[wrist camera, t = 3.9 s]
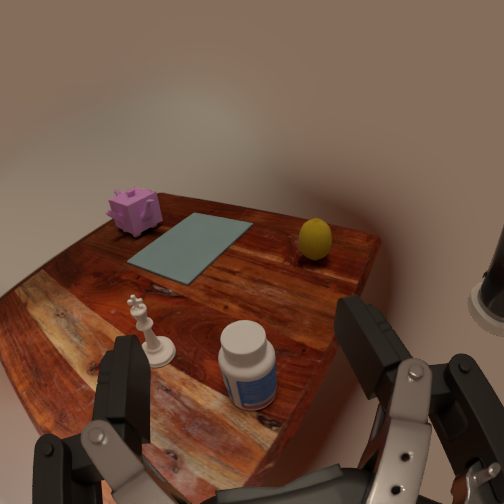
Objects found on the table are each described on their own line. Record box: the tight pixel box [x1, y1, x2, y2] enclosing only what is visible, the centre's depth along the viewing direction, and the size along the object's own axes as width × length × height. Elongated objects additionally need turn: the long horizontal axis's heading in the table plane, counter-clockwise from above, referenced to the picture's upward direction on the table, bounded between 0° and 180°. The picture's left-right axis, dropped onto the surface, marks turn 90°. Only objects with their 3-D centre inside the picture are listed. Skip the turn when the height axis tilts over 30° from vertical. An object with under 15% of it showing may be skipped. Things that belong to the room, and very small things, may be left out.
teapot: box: [106, 187, 162, 237], centre depth 63 cm, size 18×13×10 cm
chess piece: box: [127, 295, 176, 368], centre depth 33 cm, size 5×5×10 cm
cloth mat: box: [127, 213, 253, 286], centre depth 58 cm, size 16×22×1 cm
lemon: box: [299, 218, 332, 261], centre depth 48 cm, size 6×6×8 cm
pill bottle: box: [218, 320, 277, 411], centre depth 28 cm, size 6×5×10 cm
